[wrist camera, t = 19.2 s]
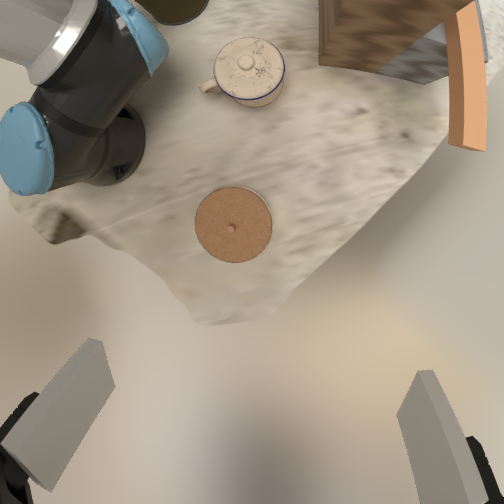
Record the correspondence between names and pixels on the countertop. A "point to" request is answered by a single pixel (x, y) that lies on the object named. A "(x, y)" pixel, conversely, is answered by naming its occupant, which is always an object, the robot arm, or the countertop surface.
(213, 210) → the lidded jar
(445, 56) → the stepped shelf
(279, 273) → the countertop surface
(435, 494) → the robot arm
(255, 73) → the teacup with lid
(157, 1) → the canister
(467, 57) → the terracotta bar
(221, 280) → the countertop surface
